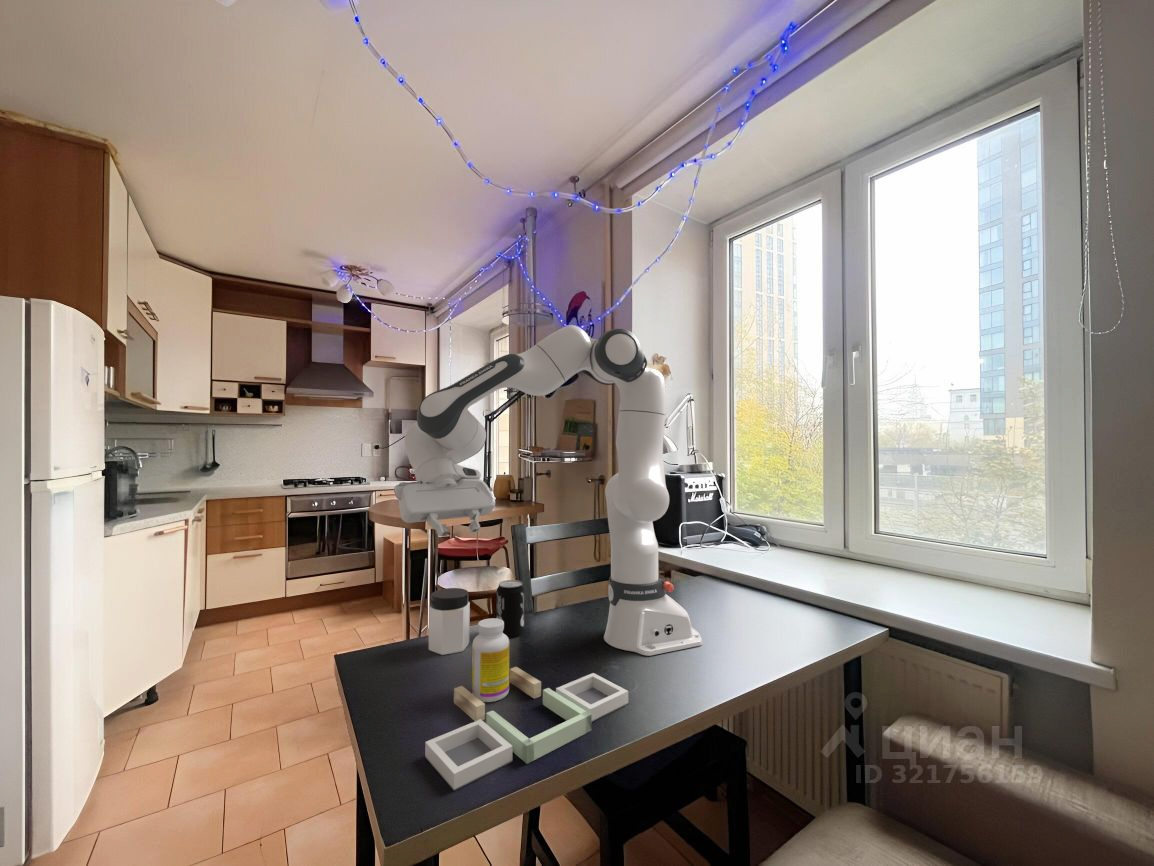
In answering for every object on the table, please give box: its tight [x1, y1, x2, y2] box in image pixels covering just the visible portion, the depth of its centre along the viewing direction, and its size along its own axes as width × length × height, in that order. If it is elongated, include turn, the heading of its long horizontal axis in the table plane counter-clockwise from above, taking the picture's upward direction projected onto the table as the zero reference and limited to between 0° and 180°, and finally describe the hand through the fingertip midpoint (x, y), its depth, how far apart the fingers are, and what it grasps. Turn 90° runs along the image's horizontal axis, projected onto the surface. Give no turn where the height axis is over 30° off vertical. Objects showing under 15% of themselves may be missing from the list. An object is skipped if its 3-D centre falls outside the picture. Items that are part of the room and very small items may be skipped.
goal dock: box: [485, 687, 593, 765], centre depth 77 cm, size 11×12×2 cm
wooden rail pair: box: [453, 666, 542, 722], centre depth 86 cm, size 8×13×2 cm, turn 131°
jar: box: [428, 587, 471, 656], centre depth 108 cm, size 9×8×12 cm
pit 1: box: [424, 719, 514, 792], centre depth 69 cm, size 9×9×2 cm
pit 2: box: [555, 672, 629, 723], centre depth 85 cm, size 9×9×2 cm
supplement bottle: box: [471, 617, 510, 703], centre depth 88 cm, size 7×7×13 cm
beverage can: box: [495, 579, 525, 639], centre depth 116 cm, size 7×7×12 cm
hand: (460, 532), depth 98 cm, fingers open, 6 cm apart
